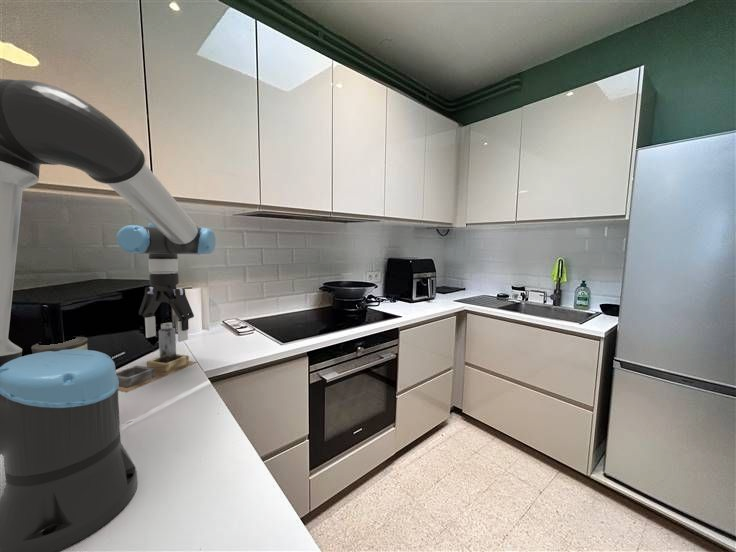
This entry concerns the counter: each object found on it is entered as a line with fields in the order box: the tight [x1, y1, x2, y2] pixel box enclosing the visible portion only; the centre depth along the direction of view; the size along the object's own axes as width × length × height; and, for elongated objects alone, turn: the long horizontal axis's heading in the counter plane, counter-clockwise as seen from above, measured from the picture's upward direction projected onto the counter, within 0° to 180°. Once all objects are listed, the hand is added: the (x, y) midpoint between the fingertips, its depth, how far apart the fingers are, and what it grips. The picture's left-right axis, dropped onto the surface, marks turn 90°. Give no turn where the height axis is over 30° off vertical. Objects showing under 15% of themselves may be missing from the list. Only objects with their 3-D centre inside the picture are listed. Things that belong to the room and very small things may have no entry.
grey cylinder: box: [158, 322, 177, 363], centre depth 93 cm, size 4×4×14 cm
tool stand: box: [116, 353, 198, 393], centre depth 88 cm, size 22×12×4 cm, turn 164°
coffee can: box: [30, 336, 89, 354], centre depth 78 cm, size 10×10×14 cm
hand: (166, 338), depth 92 cm, fingers open, 13 cm apart
